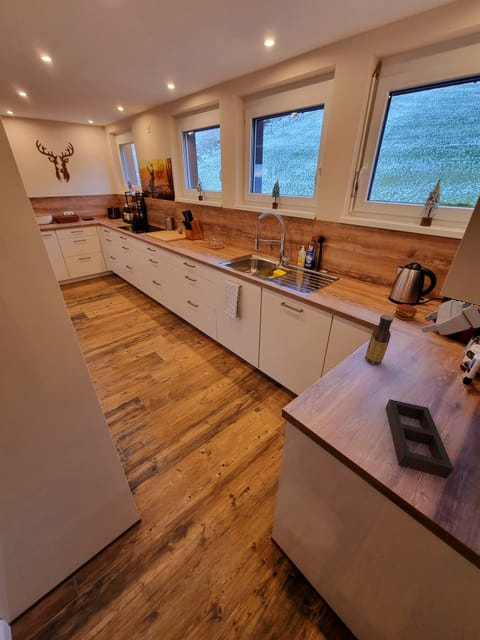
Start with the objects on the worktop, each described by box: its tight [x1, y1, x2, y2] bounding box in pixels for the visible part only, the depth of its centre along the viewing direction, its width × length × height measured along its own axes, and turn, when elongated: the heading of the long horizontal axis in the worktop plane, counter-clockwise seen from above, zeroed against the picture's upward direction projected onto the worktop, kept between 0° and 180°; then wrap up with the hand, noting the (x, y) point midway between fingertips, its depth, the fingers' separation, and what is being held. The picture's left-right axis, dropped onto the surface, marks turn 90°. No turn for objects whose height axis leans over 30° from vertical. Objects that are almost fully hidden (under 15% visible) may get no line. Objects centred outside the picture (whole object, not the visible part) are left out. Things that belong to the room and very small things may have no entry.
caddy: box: [385, 399, 454, 479], centre depth 72 cm, size 11×20×4 cm, turn 163°
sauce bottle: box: [364, 314, 394, 366], centre depth 99 cm, size 6×6×20 cm
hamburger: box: [393, 303, 420, 322], centre depth 137 cm, size 9×10×7 cm
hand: (424, 324), depth 88 cm, fingers open, 8 cm apart
